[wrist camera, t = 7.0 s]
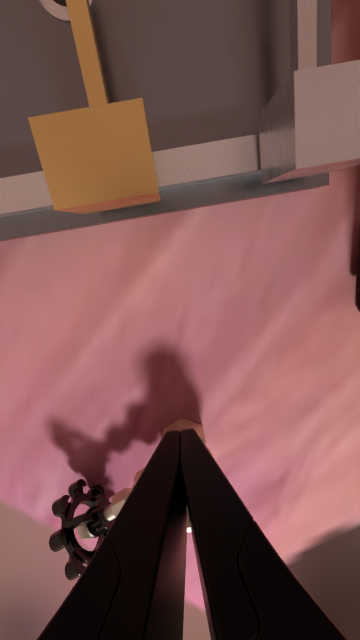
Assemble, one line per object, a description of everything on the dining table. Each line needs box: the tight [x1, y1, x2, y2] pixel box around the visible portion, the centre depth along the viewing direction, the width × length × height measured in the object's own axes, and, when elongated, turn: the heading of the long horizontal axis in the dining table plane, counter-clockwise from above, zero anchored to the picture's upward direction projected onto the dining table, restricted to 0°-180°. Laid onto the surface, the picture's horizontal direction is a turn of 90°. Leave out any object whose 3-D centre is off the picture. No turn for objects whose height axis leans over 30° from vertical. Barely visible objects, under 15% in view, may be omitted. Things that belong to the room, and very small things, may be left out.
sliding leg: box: [28, 0, 161, 214], centre depth 11 cm, size 4×10×6 cm, turn 9°
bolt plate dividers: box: [0, 0, 360, 241], centre depth 12 cm, size 22×15×7 cm
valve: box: [49, 418, 213, 580], centre depth 21 cm, size 7×7×12 cm
